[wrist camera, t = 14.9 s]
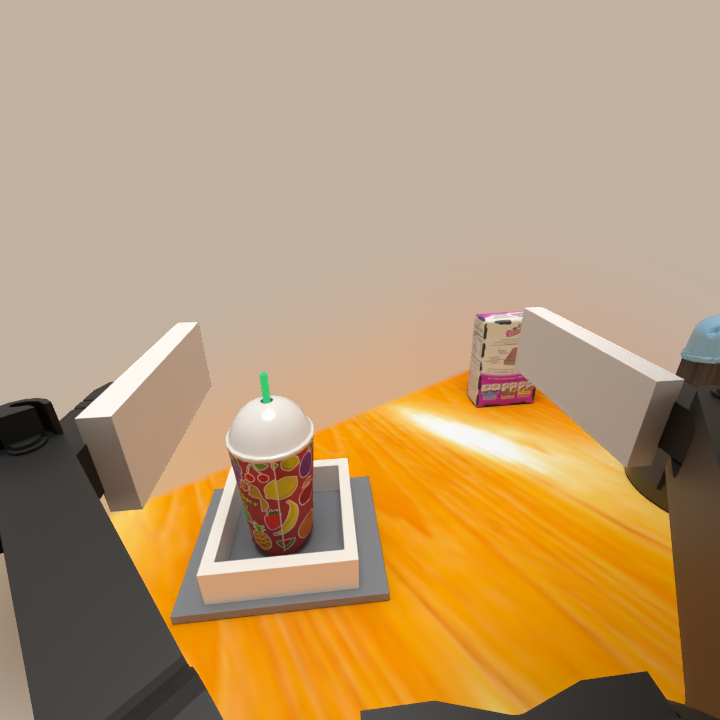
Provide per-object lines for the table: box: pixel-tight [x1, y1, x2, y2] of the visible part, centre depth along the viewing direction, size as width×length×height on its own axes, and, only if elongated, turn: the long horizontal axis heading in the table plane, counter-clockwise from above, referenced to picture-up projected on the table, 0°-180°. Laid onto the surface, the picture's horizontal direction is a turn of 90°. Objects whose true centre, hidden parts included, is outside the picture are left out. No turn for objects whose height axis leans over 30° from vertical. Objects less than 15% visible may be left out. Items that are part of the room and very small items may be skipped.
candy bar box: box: [467, 311, 536, 407], centre depth 66 cm, size 11×5×16 cm, turn 97°
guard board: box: [170, 458, 389, 624], centre depth 41 cm, size 20×16×5 cm
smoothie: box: [225, 372, 314, 556], centre depth 37 cm, size 8×8×20 cm
